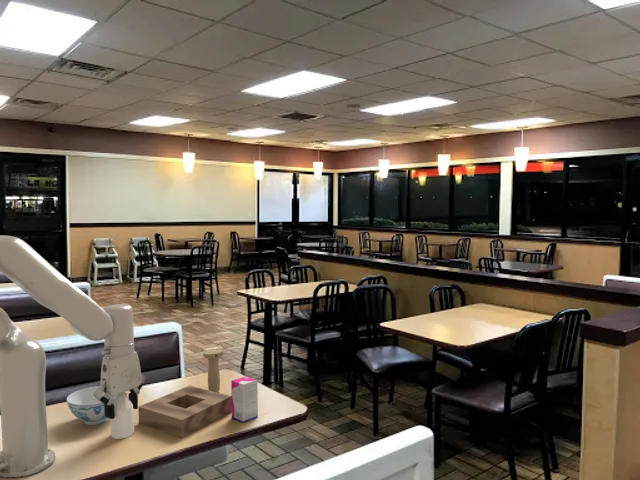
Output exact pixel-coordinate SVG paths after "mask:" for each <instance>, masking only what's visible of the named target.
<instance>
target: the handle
mask: <svg viewBox="0 0 640 480" xmlns="http://www.w3.org/2000/svg"><path fill="white" fill-rule="evenodd" d="M223 355H224V350H223V349H220V348H215V349H210V350H209V349H208V350H205V351H203V355H202V356H203V357H204V358H206V359H207V361H208V362H207V363H208V364H207V365H208V368H207V386H208V387H207V390H209V391H213V392H217V393H220V389H221V388H220V387H221V375H220V364H219V363H220V362H219V359H220V358H221V357H222V356H223Z"/></svg>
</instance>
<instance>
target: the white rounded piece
mask: <svg viewBox="0 0 640 480" xmlns="http://www.w3.org/2000/svg"><path fill="white" fill-rule="evenodd" d="M112 404H114V414H115V417H114V419H110V431H111V432H110V434H111V435H110V437H111V438H112V439H114V440H115V439H116V440H120V439H126V438H129V437H131V436H133V435H134V433H135V422H134V420H135V419H134V416H135V415H134V409H133V404H132V403H131V401H130V400H129V399H128V393H126V392H123V393H121V394H118V395H116V396H115V399H114V400H113V402H112Z"/></svg>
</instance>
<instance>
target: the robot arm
mask: <svg viewBox="0 0 640 480" xmlns="http://www.w3.org/2000/svg"><path fill="white" fill-rule="evenodd" d="M0 272H1V274H3V276H6V277H7V278H8V279H9V280H10V281H12V282H13V283H14V284H15V285H16V286H18V288H20V289H21V290H22V292H24V293H26V294H27V295H28V296H29V297H30V298H31V299H32V300H35V302H37V303H38V304H40V305H41V306H42V307H45V308H46V309H49V310H50V311H52V312H54V313H55V314H57V315H58V316H60V317H61V318H63V320H65V321H66V322H68V323H69V325H70V326H69V327H70V328H71V330H72V331H73V332H75V333H76V334H77V335H79V336H82V337H84V338H85V339H87V340H89V341H92V342H101V341H103V340H104V343H103V344H104V349H102V350H101V353H100V354H101V355H102V356H103V357H102V361H101V368H100V369H101V370H100V385H98V386H99V387H98V388H97V390H96V391H95V392H94V394H93V395H94V396H95V397H96V398H97V399H98V400H99V401H101V402H102V403H103V404H104V411H105V417H107V418H108V419H110V420H111V419H114V417H115V414H114V404H112V402H113V399H114V396H115V395H118V394H121V393H123V392H125V393H126V392H128V391H129V393H128V394H127V397H128V399H129V400H130V401H131V403H132V404H133V410H138V407H139V406H138V405H139V396H138V395H139V394H140V393H141V392H140V391H141V389H142V388H143V385H144V383H145V381H146V379H147V376H145V375H144V374H142V371H141V364H140V363H141V362H140V358H139V355H138V352H137V351H136V350H135V340H134V339H135V338H134V335H135V334H134V309H133V307H132V305H130V304H127V303H117V304H111V305H108V306H101V305H99V304H98V303H97V302H95V300H93V299H92V298H91V297H90V296H88V295H87V294H86V293H85V292H83V291H82V290H81V289H80V288H79V287H77V286H76V285H75V284H74V283H73V282H71V281H70V280H69V279H68V278H67V277H66V276H65V275H63V274H62V273H61V272H60V271H59V270H57V268H55V267H54V266H53V265H51V263H49V262H48V260H46V259H45V258H44V257H43V256H41V255H40V253H38V252H37V251H36V250H35V249H34V248H33V247H32V246H31V245H29V244H28V243H27V242H26V241H25V240H23V239H21V238H19V237H15V236H11V235H0ZM46 355H47V354H46V352H45V349H44V348H43V346H42V345H41V344H40V343H39V342H38V341H37V340H35V339H34V338H33V337H30V336H29V335H28V334H27V333H25V332H24V331H23V330H22V329H21V328H20V327H19V326H18V325H17V324H16V323H15V322H14V320H12V319H11V318H10V317H9V315H8V313H7V312H6V311H5V309H3V308H2V307H0V424H1V425H0V427H1V442H2V443H1V444H2V446H1V447H2V451H0V477H2V478H7V477H10V478H11V477H16V478H22V477H21V476H23V477H27V476H30V475H34V474H36V473H39V472H41V471H43V470H45V469H46V468H47V469H48V467H50V466H52V464H53V463H54V462H55V461H56V452H55V451H54V450H52V449H50V448H49V446H48V445H49V444H48V443H49V442H48V423H47V422H48V420H47V403H46V401H47V400H46V371H47V356H46ZM102 392H103V393H105V394H104V396H103V395H102ZM109 395H110V396H109ZM108 397H109V399H108ZM10 478H9V479H10ZM11 479H12V478H11Z"/></svg>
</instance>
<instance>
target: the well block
mask: <svg viewBox="0 0 640 480" xmlns="http://www.w3.org/2000/svg"><path fill="white" fill-rule="evenodd" d="M137 410H138V411H137V413H138V424H140V425H143V426H147V427H149V428H152V429H155V430H157V431H161V432H164V433H167V434H169V435H173V436H176V437H179V438H182V439H183V438H185V437H187V436H189V435H191V434H192V433H195V432H196V431H199V430H200V429H202V428H204V427H206V426H208V425H209V424H212V423H213V422H216V421H218V420H220V419H222V418H223V417H225V416H227V415H230V414H232V396H231V395H229V394H228V395H227V394H224V393H220V392H219V393H217V392H213V391H209V389H206V388H205V389H204V388H201V387H197V386H193V385H188V386H185V387H182V388H180V389H178V390H175V391H172V392H171V393H168V394H166V395H164V396H161V397H159V398H156V399H154V400H152V401H148V402H146V403H144V404H142V405H139V406H138V409H137Z"/></svg>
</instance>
